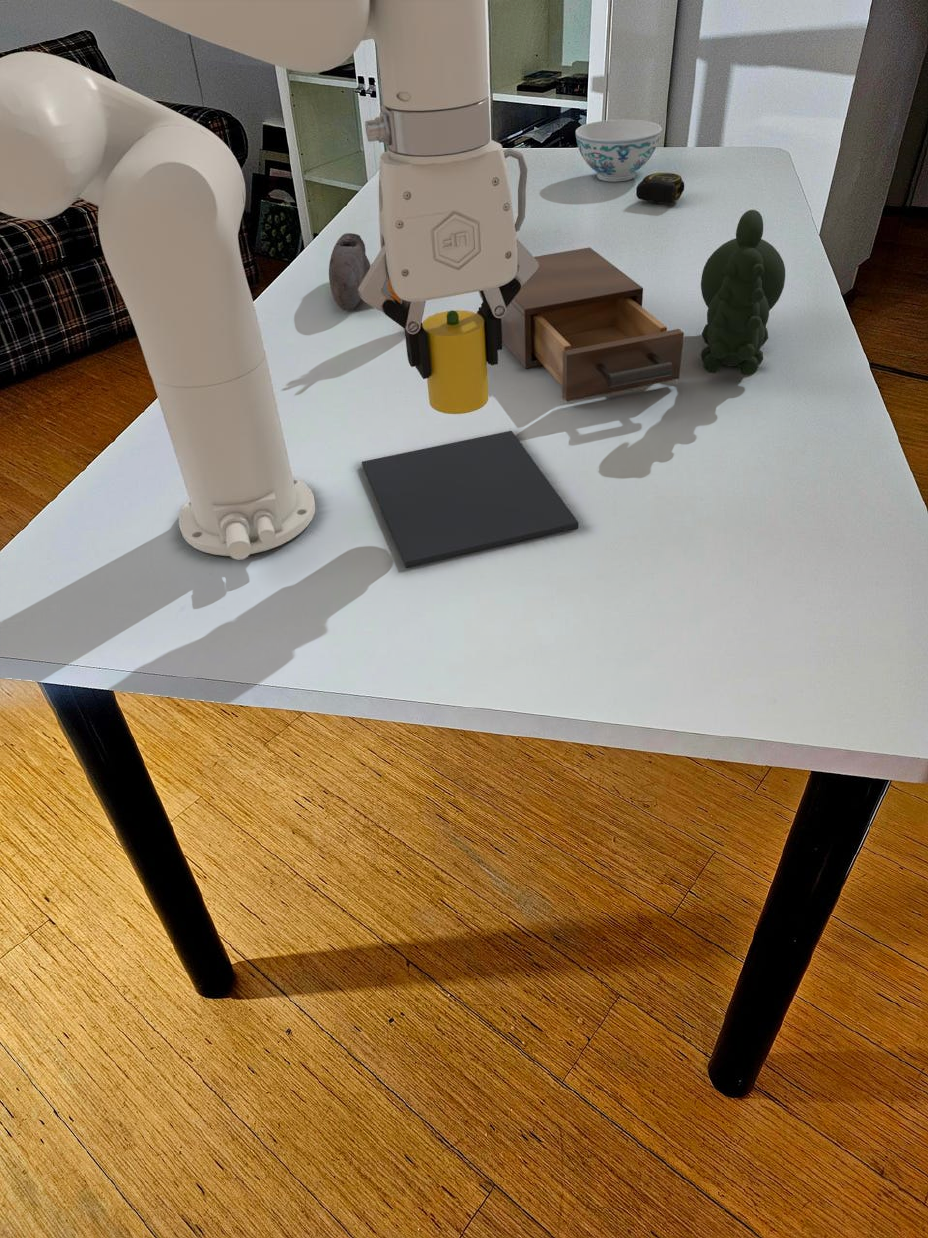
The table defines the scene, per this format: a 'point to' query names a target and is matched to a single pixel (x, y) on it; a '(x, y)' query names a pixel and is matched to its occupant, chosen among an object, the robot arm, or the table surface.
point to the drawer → (605, 348)
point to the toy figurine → (740, 297)
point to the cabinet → (562, 294)
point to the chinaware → (617, 146)
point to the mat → (465, 498)
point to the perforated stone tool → (348, 270)
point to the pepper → (457, 361)
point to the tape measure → (660, 188)
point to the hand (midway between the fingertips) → (455, 363)
